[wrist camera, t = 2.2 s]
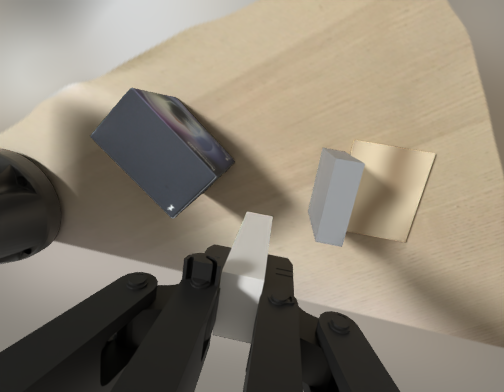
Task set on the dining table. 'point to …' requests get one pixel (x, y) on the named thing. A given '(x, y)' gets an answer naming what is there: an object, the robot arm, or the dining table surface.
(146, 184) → the small box
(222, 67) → the dining table surface
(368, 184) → the cork mat
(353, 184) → the grey square slab
